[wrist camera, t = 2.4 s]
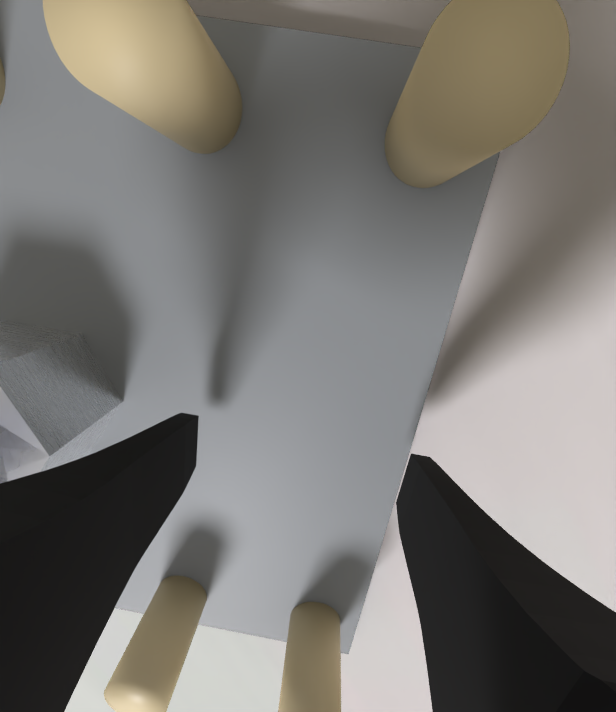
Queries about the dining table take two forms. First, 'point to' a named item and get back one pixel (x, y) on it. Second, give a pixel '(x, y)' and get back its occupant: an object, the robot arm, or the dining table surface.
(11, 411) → the faceted star polyhedron
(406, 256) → the board
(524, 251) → the dining table surface
